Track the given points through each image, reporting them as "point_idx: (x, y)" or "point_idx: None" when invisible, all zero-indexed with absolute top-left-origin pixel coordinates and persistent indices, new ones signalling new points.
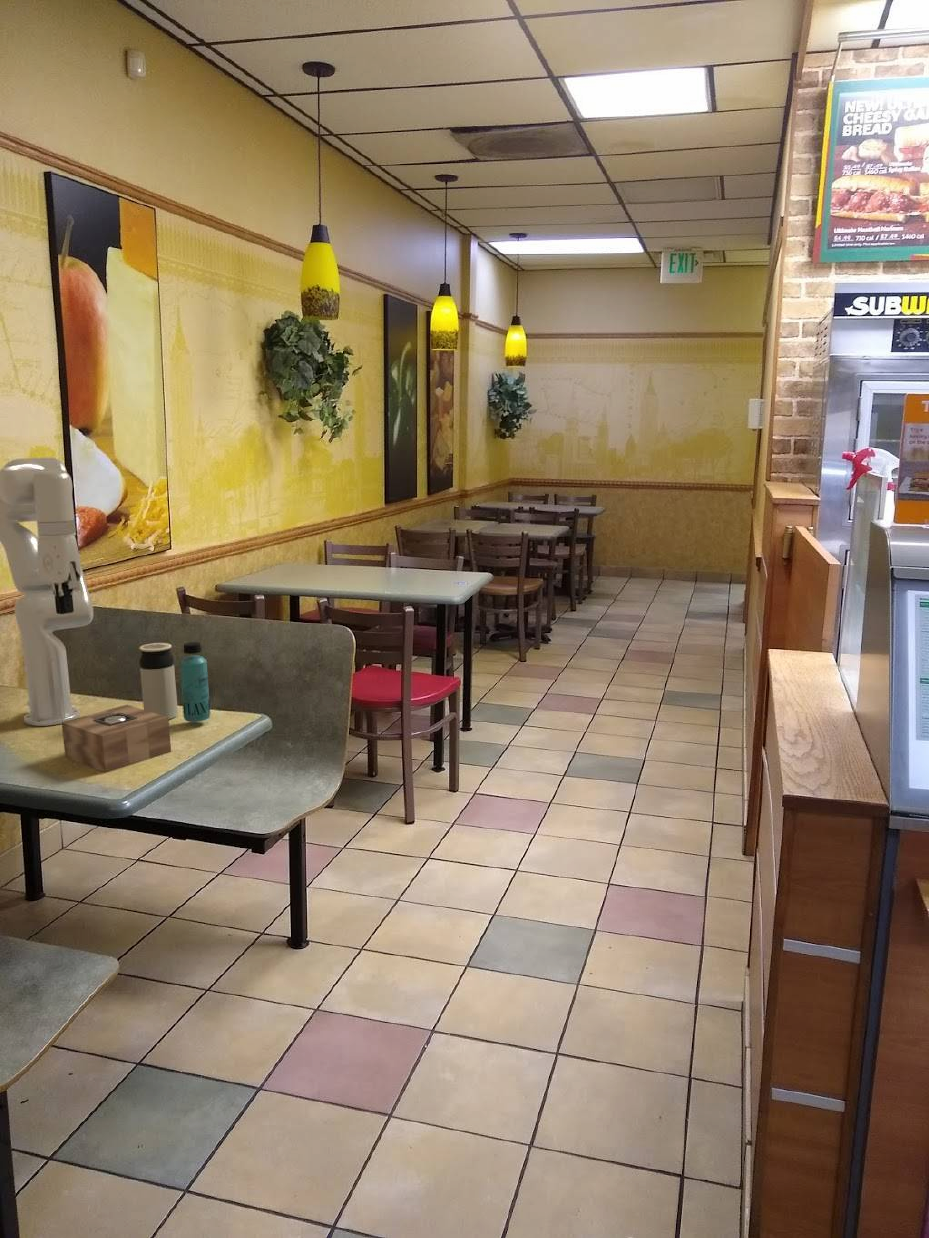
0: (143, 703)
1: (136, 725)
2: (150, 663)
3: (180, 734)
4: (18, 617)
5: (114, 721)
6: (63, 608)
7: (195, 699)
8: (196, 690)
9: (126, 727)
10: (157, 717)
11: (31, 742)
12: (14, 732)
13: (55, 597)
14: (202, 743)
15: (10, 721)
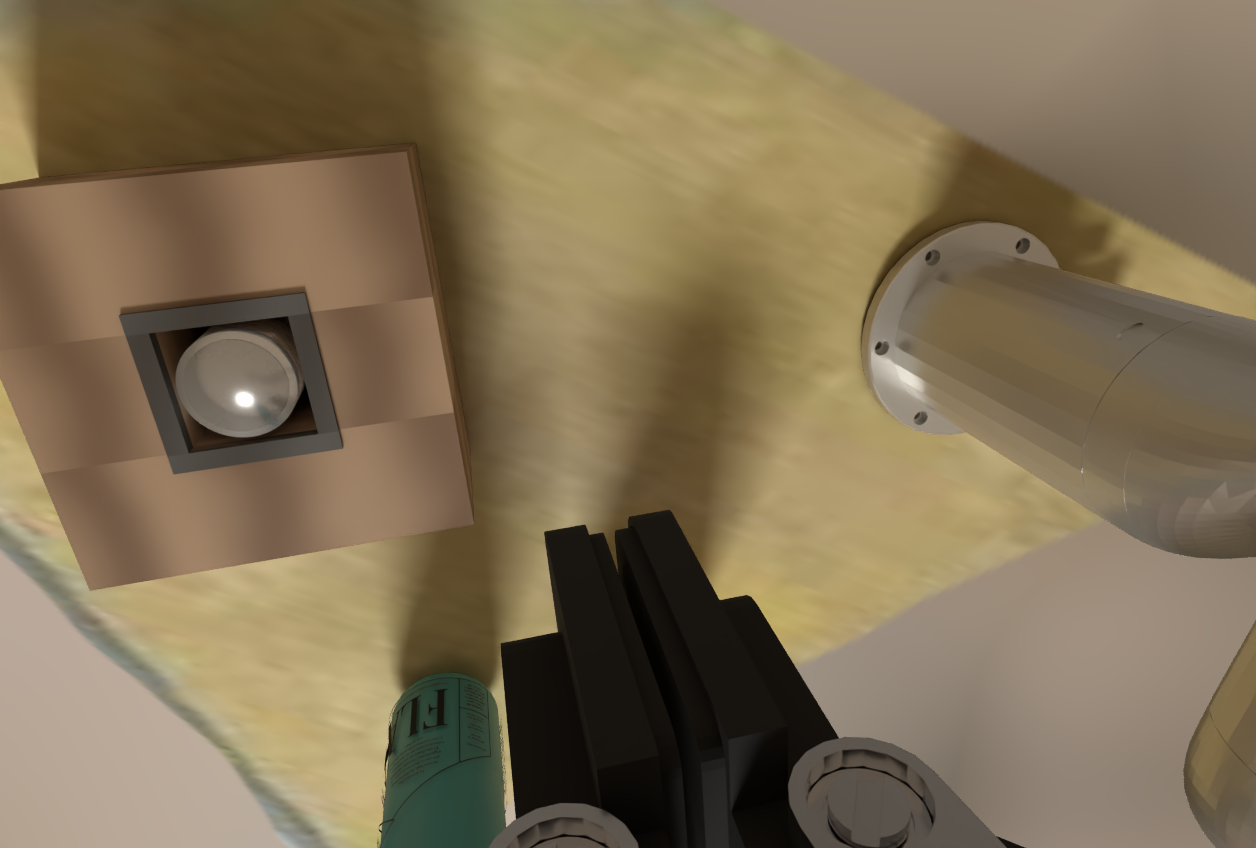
0: None
1: (35, 421)
2: None
3: (363, 608)
4: None
5: (185, 363)
6: (552, 637)
7: (391, 770)
8: (385, 809)
9: (28, 368)
10: (120, 550)
11: (740, 127)
12: (928, 136)
13: (734, 704)
14: (181, 627)
15: (1073, 191)
